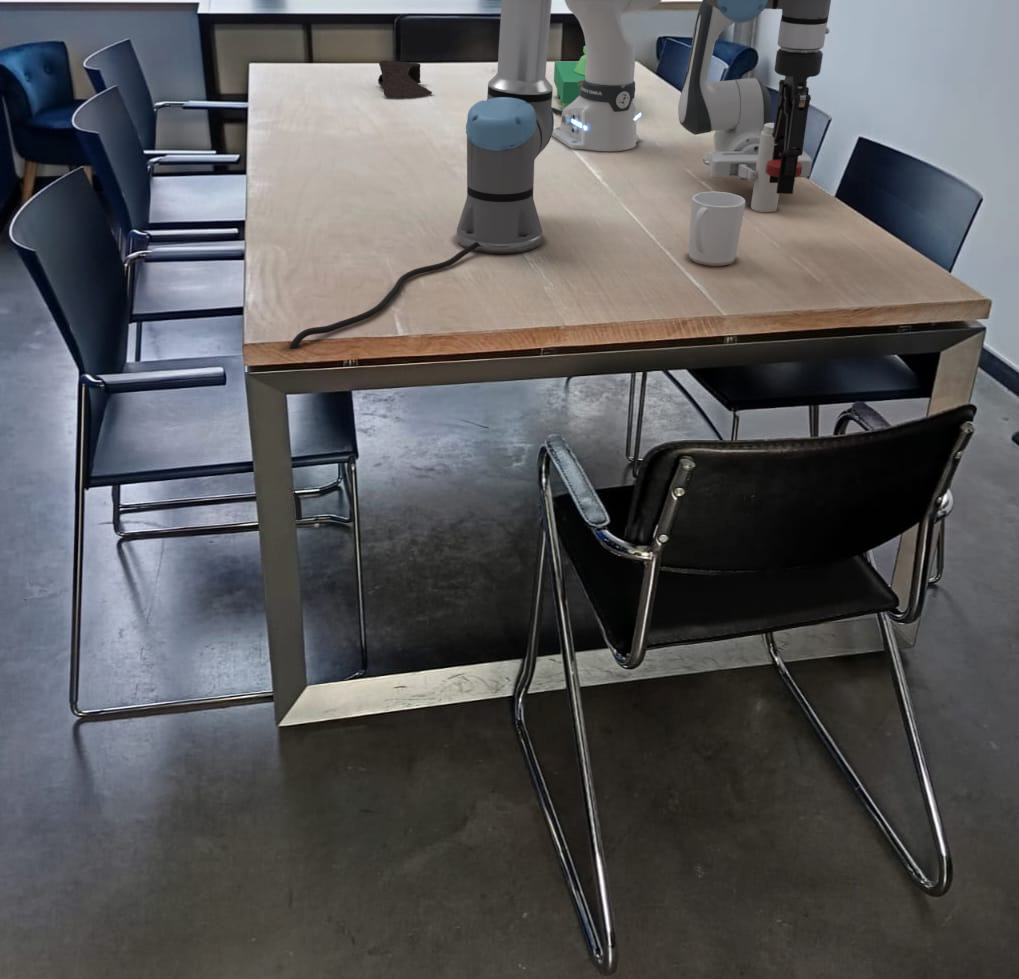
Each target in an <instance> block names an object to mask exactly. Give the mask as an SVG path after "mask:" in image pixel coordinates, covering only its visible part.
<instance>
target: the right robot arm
mask: <svg viewBox="0 0 1019 979" xmlns="http://www.w3.org/2000/svg"><path fill="white" fill-rule="evenodd" d="M662 1H663V0H564V2H565V5H566V7H567V8H568V10H569V11H570V12H571V13H572V14H573V15H574V16H575V18H576V19H577V20H578V23H579V25H580V27H581V30H582V32H583V37H584V43H585V46H586V69H585V79H584V80H583V81H578V82H583V83H582V84H579V85H578V86H581V90H580V93H579V95H580V96H579V97H577V98H576V99H575V100H574V101H573V102H572V103H571V104H569V105H568V106H567V107H566V108H564V110H563V111H562V109H558V108H555V107H553V106H551V108H552V112H553V113H556V114H557V115H560V116H561V118H560V126H559V127H554V128H553V133H552V136H551V137H554V138H555V139H556V140H558V141H559V142H561V143H562V144H564V145H565V146H567V147H569V149H574V150H588V151H597V152H619V151H627V150H631V149H634V148H635V147H637V143H638V142H639V141H640V135H639V134H637V120H638V119H639V118H640V117H642V112H639V113H638V114H637V105H636V104H635V103H634V101H633V100H634V99H635V94H636V81H635V67H636V53H637V48H636V44H635V42H634V40H633V39H632V38H630V37H629V36H628V35H627V34H625V32H624V29H623V24H622V15H632V14H641V13H642V12H645V11H647V10H650V9H652V8H655V7H657V6H659V4H660V3H661V2H662ZM735 23H736V22H733V21H731V20H729V19H728V18H726V17H725V16H724V15H723V14H722V13H721V12H720V10H719V9H717V8H715V7H714V6H712V5H710V4H709V3H707V2H706V1H704V0H702V1H701V3H700V6H699V8H698V11H697V15H696V20H695V25H694V29H693V35H692V40H691V44H690V45H691V46H690V49H689V55H688V62H687V65H686V66H687V67H686V72H685V76H684V81H683V85H682V89H681V92H680V96H679V101H678V106H677V113H678V115H677V116H678V121H679V124H680V125H681V126H682V128H684V129H685V130H686V131H688V132H689V133H691V134H692V135H694V136H696V135H702V134H707V133H711V132H714V134H713V147H714V150H715V151H711V152H710V153H709V155H707V156H703V157H702V159H701V161H702V163H703V164H705V165H707V171H708V173H709V175H710V177H712V178H715V179H740V180H743V181H748V182H749V181H754V180H757V175H758V171H757V170H756V165H757V158H758V151H759V144H760V136H761V132H762V131H763V129H764V124H766V123H771V119H772V112H773V111H772V110H773V109H772V106H773V105H772V97H771V94H770V92H769V90H768V88H767V86H765V83H763V82H762V80H760V79H759V78H757V77H749V78H748V77H747V78H737V79H731V80H730V79H729V80H720V81H719V80H717V81H709V74H710V69H711V64H712V60H713V59H712V58H713V53H714V49H715V44H716V41H717V39H718V38H719V36H720V35H721V33H723V32H724V30H727V28H729V27H730V26H732V25H734V24H735ZM812 159H813V158H812V157H811V156H810V155H809V154H808V153H807V152H805V151H804V150H803V153H802V155H799V157H798V161H797V162H799V163H801V164H802V172H801V175H800V176H798V177H795V179H797V178H808V177H810V175H811V171H812V166H813V160H812Z"/></svg>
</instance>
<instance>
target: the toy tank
mask: <svg viewBox="0 0 1019 979" xmlns="http://www.w3.org/2000/svg"><path fill="white" fill-rule="evenodd" d="M582 51H583V55H582V56H581V57H580V59H579V60H578V61H562V60H561V61H560V60H559V61H558V60H556V61H555V60H554V65H553V66H554V68H553V83H554V85H555V88H556V96H557V98H559V99H560V103H561V111H563V110H564V108H566V107H567V106H568V105H569V104H571V103H572V102H573V101H574V100H575V99H576V98H577V97H579V96H580V95H579V93H580V90H581V86H578V85H579V84H582V83H583V82H578V81H583V80H584V79H585V69H586V45H584V46H583V49H582Z"/></svg>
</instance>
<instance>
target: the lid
mask: <svg viewBox="0 0 1019 979" xmlns="http://www.w3.org/2000/svg"><path fill="white" fill-rule="evenodd" d="M780 163H781V159H775V160H770V161H768V162H767V165H766V173H767V174H768V175H770V176H774V177H779V170H780ZM801 172H802V164H801V163H799V162H797V168H796V175H795V177H796V178H799V177H798V176H800V175H801Z"/></svg>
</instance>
